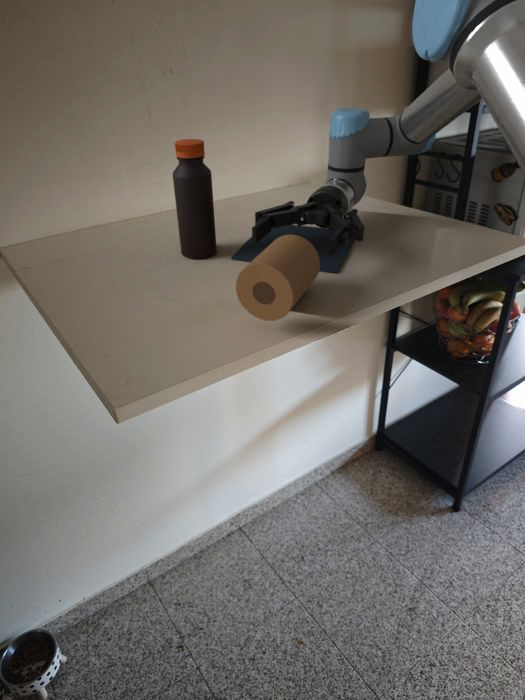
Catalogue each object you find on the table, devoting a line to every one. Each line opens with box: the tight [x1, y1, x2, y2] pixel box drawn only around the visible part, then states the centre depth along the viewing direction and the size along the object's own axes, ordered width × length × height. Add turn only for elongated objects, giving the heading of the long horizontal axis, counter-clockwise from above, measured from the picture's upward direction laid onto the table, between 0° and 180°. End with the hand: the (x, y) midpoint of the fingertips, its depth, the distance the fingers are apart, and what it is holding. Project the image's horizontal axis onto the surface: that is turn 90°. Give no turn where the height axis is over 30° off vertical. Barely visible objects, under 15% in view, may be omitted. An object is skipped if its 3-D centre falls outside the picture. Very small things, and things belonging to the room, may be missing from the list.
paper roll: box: [235, 235, 320, 322], centre depth 76 cm, size 12×9×9 cm
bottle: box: [172, 138, 218, 260], centre depth 90 cm, size 7×7×20 cm
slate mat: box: [230, 224, 356, 275], centre depth 97 cm, size 20×20×1 cm
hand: (291, 241), depth 82 cm, fingers open, 13 cm apart
